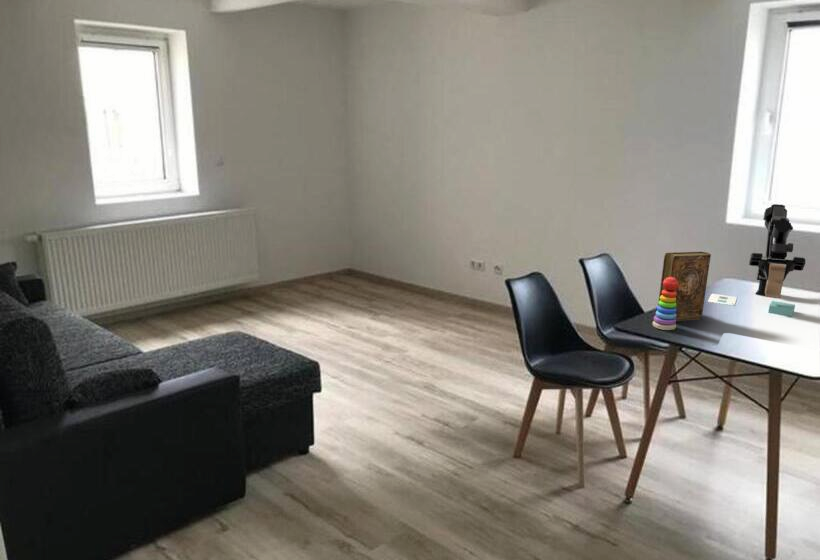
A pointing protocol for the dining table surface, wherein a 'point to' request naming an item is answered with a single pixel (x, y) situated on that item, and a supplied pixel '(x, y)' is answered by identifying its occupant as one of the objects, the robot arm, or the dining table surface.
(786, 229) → the robot arm
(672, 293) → the stacking toy
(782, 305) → the base brick
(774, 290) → the column brick
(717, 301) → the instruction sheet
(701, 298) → the book
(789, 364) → the dining table surface
